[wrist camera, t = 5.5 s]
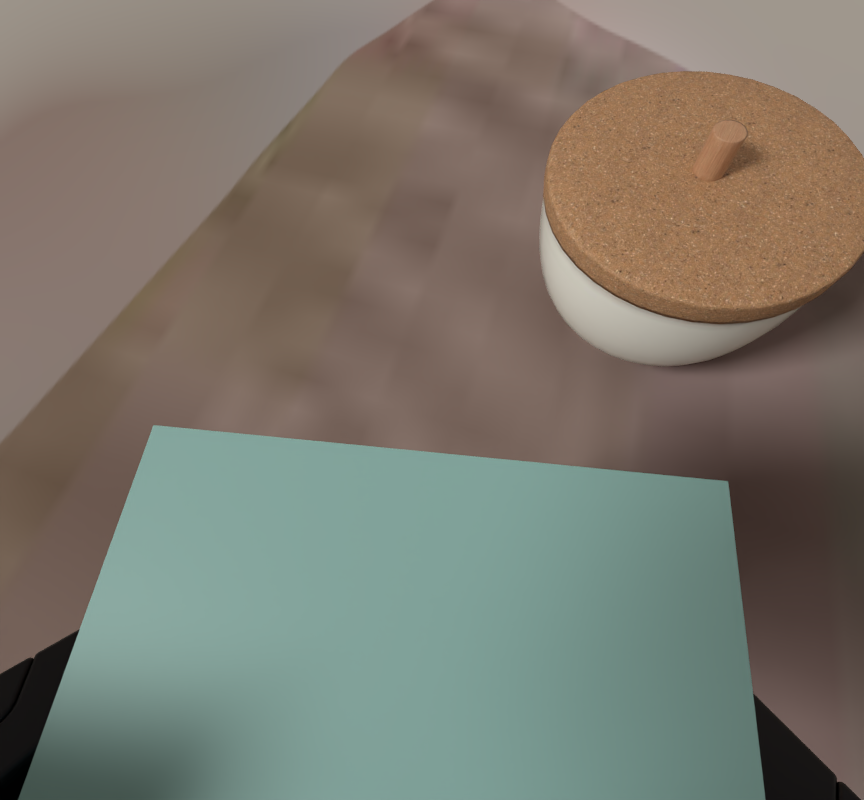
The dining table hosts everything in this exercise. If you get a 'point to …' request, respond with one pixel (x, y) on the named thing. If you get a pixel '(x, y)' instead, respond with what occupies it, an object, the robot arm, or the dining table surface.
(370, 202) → the dining table surface
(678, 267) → the lidded jar
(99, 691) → the block
